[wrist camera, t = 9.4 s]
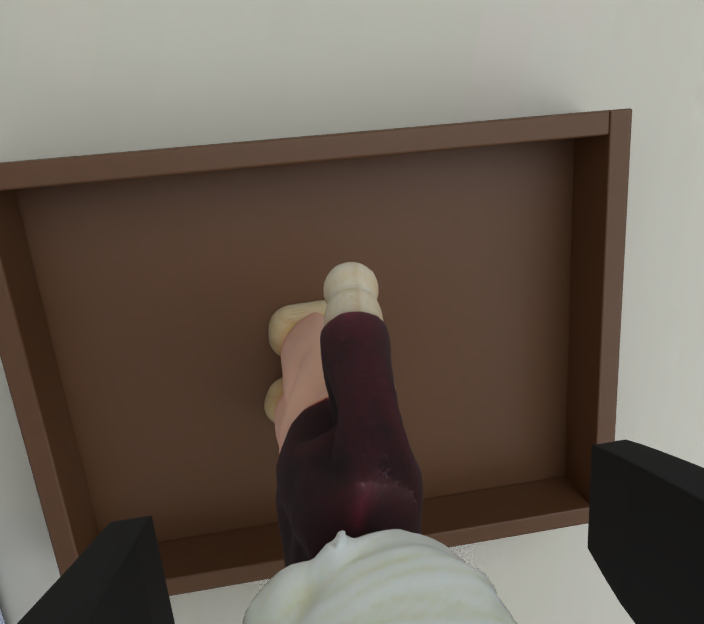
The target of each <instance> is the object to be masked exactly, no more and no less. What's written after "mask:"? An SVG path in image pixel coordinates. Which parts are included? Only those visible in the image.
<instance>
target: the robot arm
mask: <svg viewBox="0 0 704 624" xmlns="http://www.w3.org/2000/svg"><path fill="white" fill-rule="evenodd" d="M588 549H589V551H590V553H591V554H592V556H593V558H594V560H595V561H596V563H597V565H598V567H599V568H600V570H601V572H602V574H603V576H604V577H605V579H606V581H607V582H608V584H609V585H610V587H611V589H612V590H613V592H614V594H615V595H616V597H617V599H618V600H619V602H620V603H621V605H622V606H623V607H624V609H625V610H626V611H627V613H628V614H629V616H630V617H631V618H632V620H633V621H634V622H635V623H636V624H704V468H702V467H700V466H697V465H695V464H692V463H690V462H687V461H685V460H682V459H680V458H677V457H675V456H672V455H669V454H667V453H664V452H661V451H659V450H656V449H653V448H650V447H648V446H645V445H642V444H639V443H635V442H632V441H629V440H620V441H614V442H608V443H602V444H595V445H592V449H591V475H590V501H589V527H588ZM0 624H5V622H4V619H3V616H2V612H1V609H0ZM17 624H175V622H174V617H173V613H172V608H171V603H170V599H169V594H168V589H167V584H166V580H165V575H164V570H163V566H162V561H161V556H160V551H159V547H158V542H157V537H156V533H155V528H154V523H153V518H152V515H151V516H144V517H138V518H132V519H126V520H119V521H113V522H110V523H109V524H108V525H107V526H106V527H105V529H104V530H103V531H102V532H101V533H100V534H99V535H98V536H97V537H96V538H95V539H94V540H93V541H92V543H91V544H90V545H89V546H88V547H87V548H86V549H85V550H84V551H83V553H82V554H81V555H80V556H79V557H78V558H77V559H76V560H75V561H74V563H73V564H72V565H71V566H70V567H69V568H68V569H67V570H66V571H65V573H64V574H63V575H62V576H61V577H60V578H59V579H58V580H57V581H56V582H55V583H54V585H53V586H52V587H51V588H50V589H49V590H48V591H47V592H46V593H45V594H44V595H43V596H42V597H41V599H40V600H39V601H38V602H37V603H36V604H35V605H34V606H33V607H32V608H31V609H30V610H29V611H28V613H27V614H26V615H25V616H24V617H23V618H22V619H21V620H20V621H19V622H18V623H17Z"/></svg>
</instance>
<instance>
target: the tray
mask: <svg viewBox="0 0 704 624" xmlns="http://www.w3.org/2000/svg"><path fill="white" fill-rule="evenodd" d="M631 121H632V109H617V110H604V111H592V112H580V113H568V114H557V115H545V116H533V117H522V118H510V119H499V120H487V121H476V122H464V123H453V124H441V125H430V126H418V127H406V128H395V129H383V130H372V131H360V132H349V133H337V134H326V135H314V136H303V137H291V138H279V139H268V140H256V141H245V142H233V143H222V144H210V145H199V146H187V147H176V148H164V149H152V150H141V151H129V152H118V153H106V154H95V155H83V156H72V157H60V158H49V159H37V160H25V161H14V162H2V163H0V356H1V360H2V364H3V367H4V371H5V375H6V378H7V382H8V386H9V389H10V393H11V397H12V400H13V404H14V408H15V411H16V415H17V419H18V422H19V426H20V429H21V433H22V437H23V440H24V444H25V448H26V451H27V455H28V459H29V462H30V466H31V470H32V473H33V477H34V481H35V484H36V488H37V492H38V495H39V499H40V503H41V506H42V510H43V514H44V517H45V521H46V524H47V528H48V532H49V535H50V539H51V543H52V546H53V550H54V554H55V557H56V561H57V565H58V568H59V572H60V576H62V575H63V574H64V573H65V571H66V570H67V569H68V568H69V567H70V566H71V565H72V564H73V563H74V561H75V560H76V559H77V558H78V557H79V556H80V555H81V554H82V553H83V551H84V550H85V549H86V548H87V547H88V546H89V545H90V544H91V543H92V541H93V540H94V539H95V538H96V537H97V536H98V535H99V534H100V533H101V532H102V531H103V530H104V529H105V527H106V526H107V525H108V524H109V523H110V522H113V521H119V520H126V519H132V518H138V517H144V516H151V515H152V518H153V523H154V528H155V533H156V537H157V542H158V547H159V551H160V556H161V561H162V566H163V570H164V575H165V580H166V584H167V589H168V594H169V596H172V595H178V594H184V593H189V592H195V591H201V590H207V589H212V588H218V587H224V586H230V585H235V584H241V583H247V582H253V581H258V580H264V579H270V578H272V577H273V576H274V575H276V574H277V573H278V572H279V571H281V570H282V569H284V568H285V564H284V554H283V547H282V540H281V535H280V531H279V526H278V517H277V509H276V490H277V479H276V465H277V461H278V458H279V455H280V453H279V444H278V441H277V438H276V432H275V423H274V422H272V421H271V420H270V419H269V418H268V416H267V415H266V413H265V409H264V402H265V397H266V395H267V392H268V390H269V388H270V386H271V385H272V384H273V383H274V382H275V381H276V380H278V379H280V378H282V377H283V373H282V364H281V356H279V355H278V354H276V353H275V352H274V351H273V349H272V348H271V346H270V343H269V335H268V331H269V322H270V319H271V317H272V315H273V314H274V313H275V312H276V311H277V310H278V309H280V308H282V307H284V306H287V305H292V304H297V303H307V302H313V301H319V300H325V298H324V291H323V288H324V282H325V280H326V277H327V275H328V274H329V272H330V271H331V270H332V269H333V268H334V267H336V266H337V265H340V264H342V263H346V262H356V263H360V264H363V265H364V266H366V267H367V268H369V269H370V270H371V271H373V273H374V275H375V277H376V279H377V282H378V291H379V293H378V298H377V301H378V303H379V306H380V308H381V311H382V316H383V321H384V322H385V324H386V327H387V329H388V332H389V337H390V342H391V363H392V370H393V377H394V383H395V388H396V392H397V399H398V406H399V411H400V413H401V416H402V420H403V425H404V428H405V431H406V434H407V438H408V442H409V444H410V447H411V449H412V452H413V454H414V457H415V460H416V461H417V463H418V464H419V467H420V470H421V474H422V481H423V508H422V523H421V535H424V536H428V537H430V538H432V539H435V540H437V541H438V542H440V543H442V544H444V545H446V546H447V547H454V546H459V545H465V544H471V543H477V542H482V541H488V540H494V539H500V538H505V537H511V536H517V535H523V534H528V533H534V532H540V531H546V530H551V529H557V528H563V527H569V526H574V525H580V524H586V523H589V501H590V475H591V449H592V445H595V444H602V443H608V442H614V441H615V424H616V405H617V386H618V367H619V348H620V329H621V310H622V291H623V272H624V253H625V234H626V216H627V197H628V178H629V159H630V140H631Z"/></svg>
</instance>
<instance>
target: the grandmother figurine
mask: <svg viewBox="0 0 704 624" xmlns="http://www.w3.org/2000/svg"><path fill="white" fill-rule="evenodd" d="M323 291H324V298H325V300H319V301H313V302H307V303H297V304H292V305H287V306H284V307H282V308H280V309H278V310H277V311H276V312H275V313H274V314H273V315H272V317H271V319H270V322H269V331H268V335H269V343H270V346H271V348H272V349H273V351H274V352H275V353H276V354H278V355H279V356H281V364H282V373H283V377H282V378H280V379H278V380H276V381H275V382H274V383H273V384H272V385H271V386H270V388H269V390H268V392H267V395H266V397H265V402H264V409H265V413H266V415H267V416H268V418H269V419H270V420H271V421H272V422H274V423H275V432H276V438H277V441H278V444H279V453H280V455H279V458H278V461H277V465H276V479H277V490H276V509H277V517H278V526H279V531H280V535H281V540H282V547H283V554H284V564H285V568H284V569H282V570H281V571H279V572H278V573H277V574H276V575H274V576H273V577H272V578H271V579H270V580H269V581H268V582H267V583H266V584H265V586H264V587H263V588H262V589H261V590H260V591H259V593H258V594H257V595H256V596H255V597H254V599H253V600H252V602H251V603H250V605H249V607H248V609H247V611H246V613H245V616H244V620H243V624H517V623H516V622H515V621H514V619H513V617H512V615H511V614H510V612H509V610H508V609H507V607H506V606H505V605H504V603H503V602H502V600H501V599H500V598H499V597H498V595H497V592H496V590H495V587H494V585H493V584H492V582H491V581H490V579H489V578H488V577H487V575H486V574H485V573H483V572H482V571H481V570H480V569H478V568H476V567H474V566H471V565H469V564H467V563H465V561H464V560H463V559H462V558H461V557H460V556H458V555H457V554H456V553H454V552H453V551H452V550H451V549H449V548H448V547H447V546H446V545H444V544H442V543H440V542H438V541H437V540H435V539H432V538H430V537H428V536H424V535H421V523H422V508H423V481H422V474H421V470H420V467H419V464H418V463H417V461H416V460H415V457H414V454H413V452H412V449H411V447H410V444H409V442H408V438H407V434H406V431H405V428H404V425H403V420H402V416H401V413H400V411H399V406H398V399H397V392H396V388H395V383H394V377H393V370H392V363H391V342H390V337H389V332H388V329H387V327H386V324H385V322H384V321H383V316H382V311H381V308H380V306H379V303H378V301H377V298H378V293H379V291H378V282H377V279H376V277H375V275H374V273H373V271H371V270H370V269H369V268H367V267H366V266H364V265H363V264H360V263H356V262H346V263H342V264H340V265H337V266H336V267H334V268H333V269H332V270H331V271H330V272H329V274H328V275H327V277H326V280H325V282H324V288H323Z"/></svg>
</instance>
